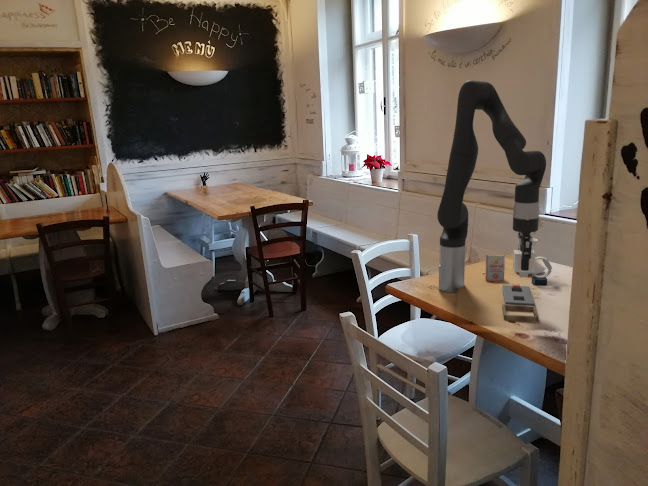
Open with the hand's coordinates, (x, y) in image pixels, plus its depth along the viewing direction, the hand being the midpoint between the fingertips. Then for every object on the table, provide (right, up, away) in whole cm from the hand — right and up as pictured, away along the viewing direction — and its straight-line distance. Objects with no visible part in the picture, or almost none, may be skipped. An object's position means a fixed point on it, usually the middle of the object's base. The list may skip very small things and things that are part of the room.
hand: (523, 267), depth 164 cm
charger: (0, -3, +1) cm, 3 cm away
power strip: (+3, -13, +12) cm, 18 cm away
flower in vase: (+20, -4, +45) cm, 49 cm away
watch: (+17, -8, +29) cm, 35 cm away
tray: (-2, -17, -1) cm, 17 cm away
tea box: (+3, -7, +37) cm, 38 cm away
